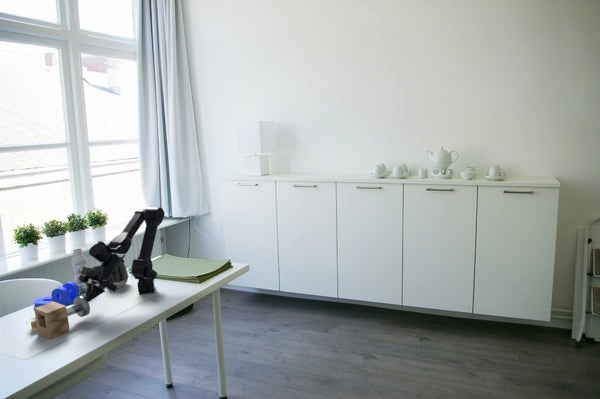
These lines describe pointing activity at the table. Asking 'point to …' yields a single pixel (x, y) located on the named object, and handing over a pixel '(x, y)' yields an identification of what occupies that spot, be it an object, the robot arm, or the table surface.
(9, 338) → the table surface
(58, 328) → the bearing block
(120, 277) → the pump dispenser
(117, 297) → the table surface
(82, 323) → the table surface
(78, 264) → the plastic bottle
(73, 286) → the bracket
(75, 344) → the table surface
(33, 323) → the spacer block
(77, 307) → the shaft
